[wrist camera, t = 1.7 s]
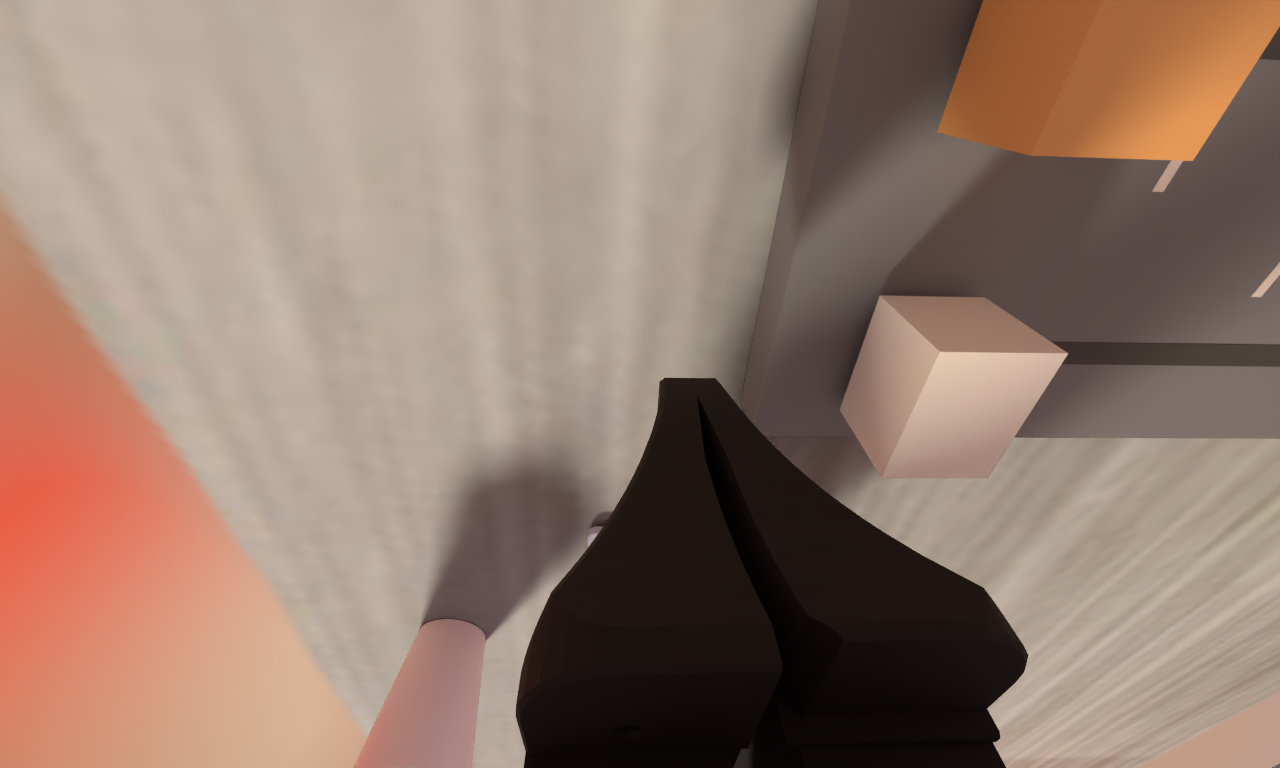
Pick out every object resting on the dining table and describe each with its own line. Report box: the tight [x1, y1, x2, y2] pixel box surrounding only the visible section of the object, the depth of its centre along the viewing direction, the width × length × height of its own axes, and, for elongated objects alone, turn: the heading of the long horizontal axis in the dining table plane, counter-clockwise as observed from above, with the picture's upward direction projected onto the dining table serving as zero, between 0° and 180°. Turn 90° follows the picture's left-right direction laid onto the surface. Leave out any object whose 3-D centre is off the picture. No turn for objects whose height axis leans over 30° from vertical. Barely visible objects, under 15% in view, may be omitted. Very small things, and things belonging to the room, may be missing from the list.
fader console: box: [741, 0, 1280, 438], centre depth 13 cm, size 15×20×2 cm
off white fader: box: [840, 295, 1068, 478], centre depth 13 cm, size 4×3×3 cm
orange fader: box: [937, 0, 1280, 161], centre depth 8 cm, size 4×3×3 cm
